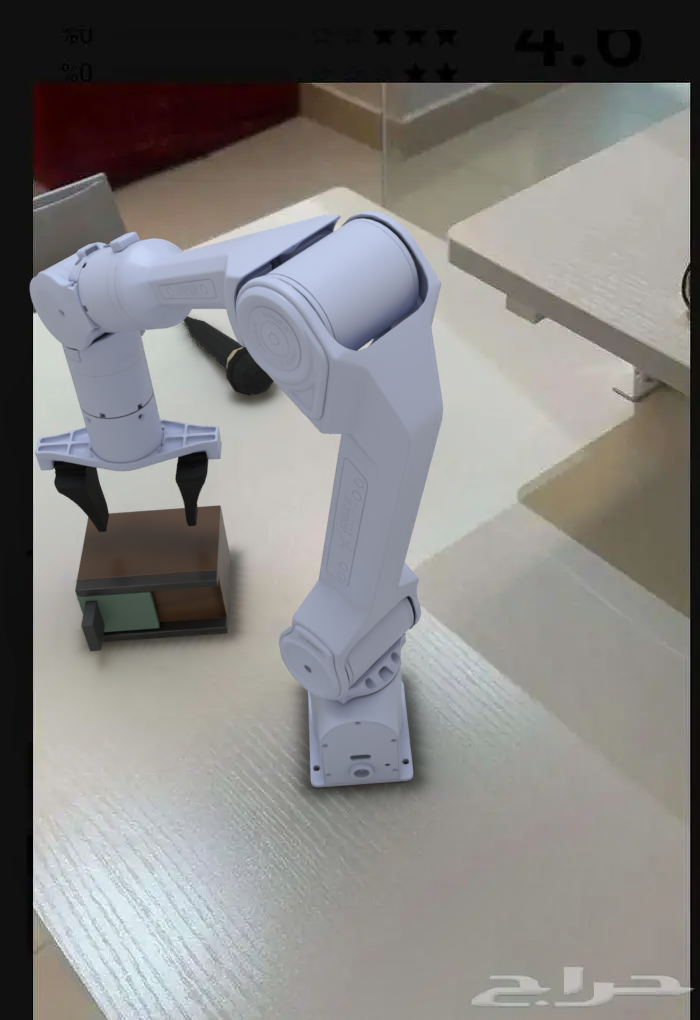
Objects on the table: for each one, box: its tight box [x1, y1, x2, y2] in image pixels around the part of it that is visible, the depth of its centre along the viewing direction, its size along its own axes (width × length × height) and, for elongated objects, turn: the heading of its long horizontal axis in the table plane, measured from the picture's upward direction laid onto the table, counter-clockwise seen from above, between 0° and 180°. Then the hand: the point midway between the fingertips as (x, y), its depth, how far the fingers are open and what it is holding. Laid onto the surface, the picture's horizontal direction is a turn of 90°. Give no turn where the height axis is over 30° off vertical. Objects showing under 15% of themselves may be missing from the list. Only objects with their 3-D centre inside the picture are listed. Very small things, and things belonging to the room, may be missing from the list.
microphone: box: [182, 315, 275, 396], centre depth 122 cm, size 6×6×20 cm
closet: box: [74, 504, 232, 643], centre depth 95 cm, size 9×12×7 cm
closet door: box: [76, 591, 160, 652], centre depth 91 cm, size 3×6×5 cm, turn 93°
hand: (148, 520), depth 91 cm, fingers open, 7 cm apart
